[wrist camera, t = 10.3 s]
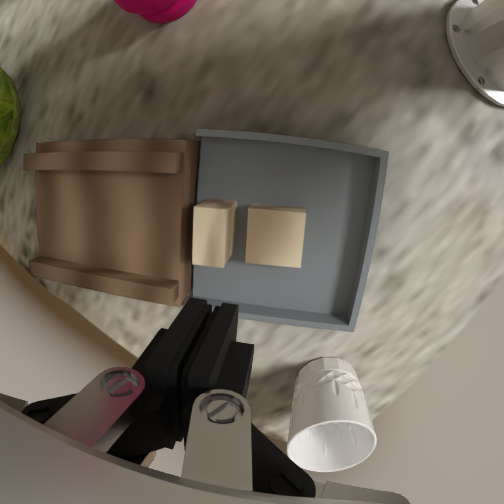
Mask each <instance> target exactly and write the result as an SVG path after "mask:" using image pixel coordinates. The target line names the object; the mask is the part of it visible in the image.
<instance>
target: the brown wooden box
mask: <svg viewBox="0 0 504 504" xmlns="http://www.w3.org/2000/svg"><path fill="white" fill-rule="evenodd" d="M199 146H200V141H191V140H176V139H97V140H74V141H57V142H44V143H36V153H33V154H24V170H36V213H37V229H38V241H39V251H40V256H38V257H36V258H34V259H32V260H30V261H29V264H30V271H31V275H33V276H37V277H41V278H45V279H49V280H53V281H57V282H61V283H65V284H69V285H74V286H78V287H82V288H87V289H91V290H96V291H100V292H105V293H109V294H114V295H119V296H124V297H128V298H133V299H138V300H144V301H149V302H154V303H159V304H165V305H170V306H177V307H179V306H180V304H181V303H182V302H183V300H184V299H185V297H186V296H187V295H188V293H189V292H190V291H191V289H192V250H193V214H194V206H195V201H196V186H197V172H198V159H199Z"/></svg>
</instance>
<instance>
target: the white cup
mask: <svg viewBox="0 0 504 504" xmlns="http://www.w3.org/2000/svg"><path fill="white" fill-rule="evenodd" d="M376 442H377V438H376V434H375V431H374V427H373V424H372V420H371V416H370V413H369V409H368V406H367V403H366V400H365V397H364V394H363V391H362V388H361V386H360V384H359V381H358V378H357V374H356V371H355V370H354V369H353V367H352V366H351V365H350V364H349V362H346V361H344V360H342V359H339V358H335V357H322V358H319V359H317V360H314V361H311V362H309V363H308V364H306V365H305V366H304V367H303V368H302V369H301V370H300V371H299V373H298V375H297V378H296V380H295V390H294V395H293V401H292V409H291V416H290V426H289V435H288V443H287V455H288V457H289V458H290V459H291V460H292V461H293V462H294V463H295V464H297V465H298V466H299V467H301V468H303V469H306V470H310V471H315V472H332V471H339V470H343V469H347V468H350V467H352V466H355V465H356V464H359V463H360V462H362V461H363V460H365V459H366V458H367V457H368V456H369V455H370V454H371V453H372V452H373V450H374V448H375V446H376Z"/></svg>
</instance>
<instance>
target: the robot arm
mask: <svg viewBox="0 0 504 504" xmlns="http://www.w3.org/2000/svg"><path fill="white" fill-rule="evenodd" d="M446 34H447V40H448V44H449V46H450V49H451V52H452V55H453V57H454V59H455V61H456V63H457V65H458V66H459V68H460V70H461V71H462V73H463V74H464V76H465V77H466V78H467V80H468V81H469V82H470V84H471V85H472V86H473V87H474V88H475V89H476V90H477V91H478V92H479V93H480V94H481V95H483V96H484V97H485V98H487V99H488V100H489V101H491V102H493V103H495V104H497V105H499V106H502V107H504V0H457V1H456V2H455V3H454V4H453V5H452V6H451V7H450V9H449V11H448V13H447V18H446ZM238 312H239V305H237V304H231V303H224V302H222V304H221V306H217V305H216V306H215V308H214V310H213V312H212V305H211V304H207V300H205V299H199V298H193V297H190V298H189V300H188V301H187V303H186V304H185V306H184V307H183V308H182V310H181V311H180V313H179V314H178V316H177V317H176V318H175V320H174V321H173V323H172V324H171V326H170V327H169V329H164V328H162V329H160V330H159V331H158V333H157V334H156V335H155V337H154V338H153V339H152V341H151V342H150V344H149V345H148V346H147V348H146V349H145V350H144V352H143V353H142V355H141V356H140V357H139V359H138V360H137V362H136V363H135V364H134V366H133V367H132V369H131V368H128V367H113V368H109V369H107V370H104V371H103V372H101V373H100V374H99V375H97V376H96V377H95V378H94V379H93V380H92V381H91V382H90V383H89V384H88V385H86V386H85V387H84V388H83V389H82V390H81V391H80V392H79V393H76V394H71V395H67V396H63V397H57V398H52V399H47V400H42V401H37V402H34V403H31V404H28V401H25V400H21V399H18V398H14V397H11V396H8V395H4V394H1V393H0V504H410V503H409V501H408V500H407V499H406V498H405V497H404V496H402V495H401V494H397V493H394V492H388V491H380V490H373V489H367V488H360V487H355V486H350V485H345V484H340V483H335V482H330V481H327V482H326V484H323V483H319V482H315V481H313V480H312V478H311V477H310V476H309V475H308V474H307V473H306V472H305V471H303V470H302V469H301V468H300V467H299V466H298V465H297V464H295V463H294V462H293V461H292V460H291V459H290V458H289V457H287V456H286V455H285V454H284V453H283V452H282V451H281V450H280V449H278V448H277V447H276V446H275V445H274V444H273V443H272V442H271V441H270V440H269V439H268V438H267V437H266V436H264V434H262V433H261V432H260V431H259V430H258V429H257V428H256V427H255V426H254V425H253V424H252V423H251V410H250V406H249V403H248V402H247V400H246V395H247V391H248V386H249V381H250V375H251V369H252V362H253V354H254V344H248V343H241V342H236V335H237V323H238ZM183 437H184V447H185V455H184V462H183V468H182V474H181V477H178V476H175V475H171V474H167V473H164V472H160V471H157V470H154V469H150V468H148V467H149V466H150V464H151V463H152V461H153V460H154V458H155V456H156V450H158V449H162V448H164V447H166V448H169V449H173V447H174V445H175V442H176V441H179V442H181V441H182V439H183Z"/></svg>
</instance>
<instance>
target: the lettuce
mask: <svg viewBox="0 0 504 504" xmlns="http://www.w3.org/2000/svg"><path fill="white" fill-rule="evenodd" d="M20 112H21V105H20V101H19V98H18V94H17V90H16V87H15V85H14V83H13V81H12V79H11V78H10V77H9V76H8V75H7V74H6V73H5V72H4V71H3V69H2V68H1V67H0V166H1V165H2V163H3V162H4V160H5V159H6V157H7V156H8V154H9V153H10V151H11V149H12V146H13V143H14V141H15V138H16V135H17V133H18V130H19V125H20Z"/></svg>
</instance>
